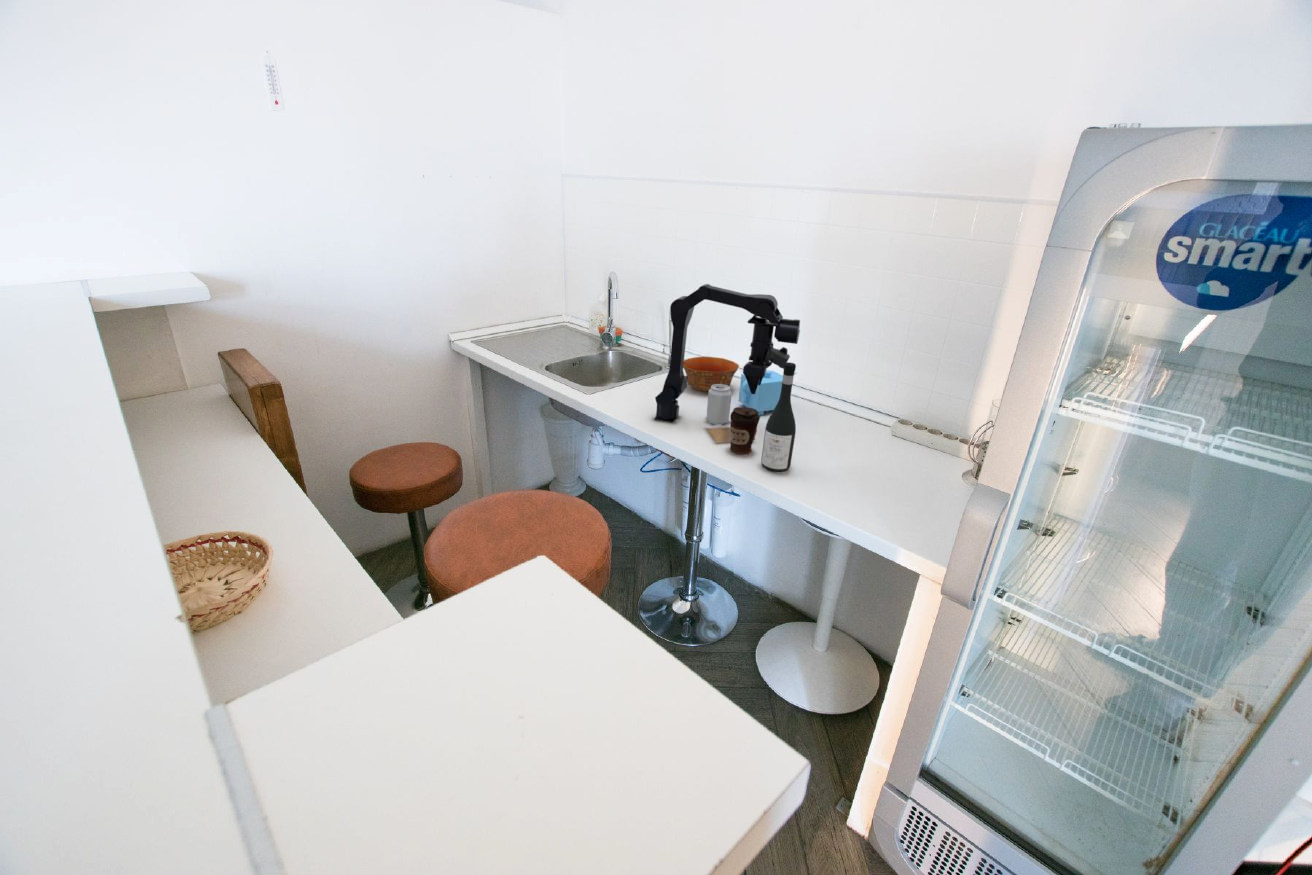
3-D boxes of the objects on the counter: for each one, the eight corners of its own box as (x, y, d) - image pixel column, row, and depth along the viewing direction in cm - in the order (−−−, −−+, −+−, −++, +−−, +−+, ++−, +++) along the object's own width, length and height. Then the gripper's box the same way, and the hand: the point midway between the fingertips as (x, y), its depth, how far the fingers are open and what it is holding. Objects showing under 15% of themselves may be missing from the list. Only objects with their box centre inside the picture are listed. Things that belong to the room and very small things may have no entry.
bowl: (672, 381, 225) (674, 356, 221) (723, 378, 231) (725, 354, 227) (691, 400, 207) (693, 373, 203) (745, 396, 213) (748, 370, 209)
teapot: (748, 417, 193) (753, 378, 188) (731, 406, 203) (735, 368, 197) (801, 410, 202) (807, 372, 197) (782, 399, 211) (787, 363, 206)
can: (727, 417, 193) (730, 383, 188) (730, 425, 186) (734, 390, 182) (704, 416, 193) (707, 382, 188) (707, 425, 186) (710, 390, 181)
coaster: (716, 443, 173) (716, 442, 173) (706, 429, 183) (706, 428, 183) (750, 441, 176) (750, 441, 176) (739, 427, 185) (739, 427, 185)
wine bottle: (785, 476, 156) (801, 370, 143) (757, 469, 159) (770, 365, 147) (792, 465, 162) (808, 362, 150) (765, 458, 165) (779, 357, 153)
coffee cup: (745, 460, 163) (750, 418, 158) (720, 452, 168) (724, 410, 163) (760, 451, 170) (765, 410, 165) (735, 443, 174) (740, 402, 169)
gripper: (785, 350, 159) (777, 403, 166) (793, 335, 175) (786, 384, 182) (745, 345, 162) (739, 397, 169) (757, 331, 179) (751, 379, 185)
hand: (755, 389), depth 176 cm, fingers open, 9 cm apart
